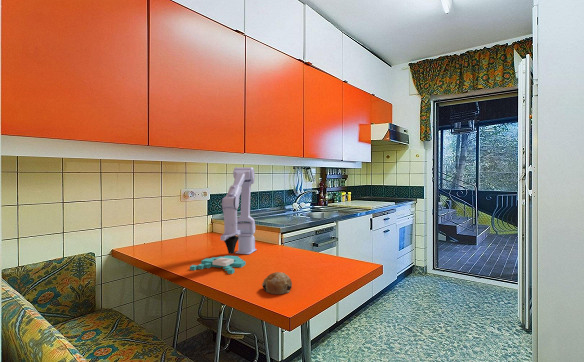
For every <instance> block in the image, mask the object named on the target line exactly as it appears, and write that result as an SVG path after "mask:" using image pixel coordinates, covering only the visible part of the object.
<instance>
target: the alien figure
mask: <svg viewBox="0 0 584 362" xmlns="http://www.w3.org/2000/svg"><path fill="white" fill-rule="evenodd" d="M219 258H229V259H234V263H232V264H230V265H228V266H219V265H213V261H214V260H216V259H219ZM200 262H201V263H199V264H191V265H190V266H189V271H196V270H203V269H210V268H221V267H223V268H222V270H223V269H225V270H224V272H225V271H227V272H226V273H228V274H229V275H233V274H235V268H243V267H245V266H246V264H247V263H246V260H244V259H242V258H241V257H239V255H226V254H225V255H224V256H217V257H215V256H213V257H210V258H209V257H207V258H203V259H202V260H201V261H200ZM228 274H227V275H228Z"/></svg>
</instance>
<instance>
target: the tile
mask: <svg viewBox="0 0 584 362" xmlns="http://www.w3.org/2000/svg"><path fill="white" fill-rule="evenodd" d="M232 263H234V259H229V258H219V259H216V260H214V261H213V265H219V266H228V265H230V264H232Z"/></svg>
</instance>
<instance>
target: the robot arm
mask: <svg viewBox="0 0 584 362" xmlns="http://www.w3.org/2000/svg"><path fill="white" fill-rule="evenodd" d="M232 173H233V174H232V175H233V178H234V181H233V184H232V185H230V187H229V189H228V190H227V194H226V196H224V197H223V198H222V200H221V207H222V213H223V216H224V217H223V224H224V230H223V231H224V232H223V234H221V235H220V241H222V242H224V244H225V247H226V250H227V252H228V254H229V255H230V254H234V253H235V254H239V255H240V254H242V255H251V254H252V253H254V252H256V251H257V248H256V237H255V236H254V234H255V233H256V220H255V219H254V218H253V217H252V216H251V191H252V185H253V184H255V177H256V176H255V173H256V172H255V169H254V167H253V166H251V167H236V166H235V167H234V168H233V171H232ZM240 196H241V197H240ZM239 204H240V205H239ZM239 206H240V215H239V217H238V208H239ZM237 243H238V244H237ZM236 245H238V249H237V251H236V252H235V249H236Z"/></svg>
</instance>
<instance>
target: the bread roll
mask: <svg viewBox="0 0 584 362" xmlns="http://www.w3.org/2000/svg"><path fill="white" fill-rule="evenodd" d="M261 285H262V288H263V290H264V291H265V292H266V293H268V294H270V295H284V294H289V293H290V291H291V289H292V288H293V281H292V279H291V277H290V276H289V275H288V274H286V273H285V272H281V271H280V272H279V271H276V272H272V273H270V274H268V275H267V276H266V278H264V279H263V282H262V283H261Z"/></svg>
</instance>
